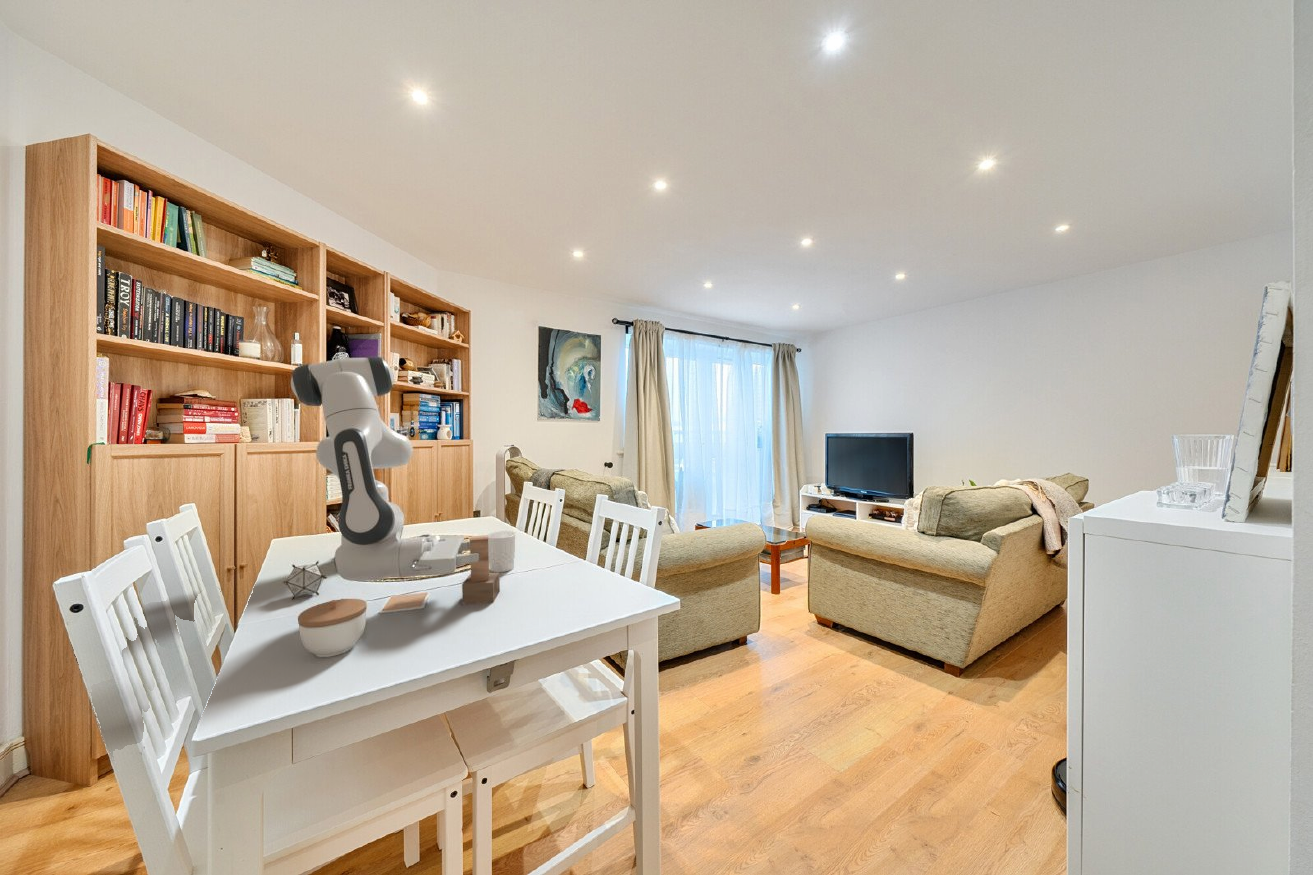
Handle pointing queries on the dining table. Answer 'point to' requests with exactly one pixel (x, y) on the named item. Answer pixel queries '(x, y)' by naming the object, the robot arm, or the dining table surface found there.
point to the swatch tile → (405, 602)
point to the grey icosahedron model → (305, 580)
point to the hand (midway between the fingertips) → (480, 550)
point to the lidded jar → (332, 626)
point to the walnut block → (481, 590)
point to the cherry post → (480, 558)
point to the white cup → (501, 551)
